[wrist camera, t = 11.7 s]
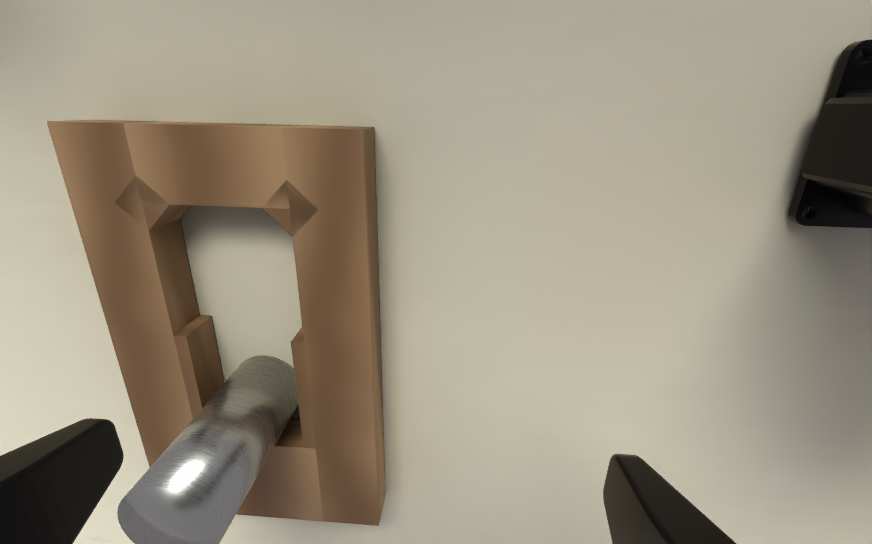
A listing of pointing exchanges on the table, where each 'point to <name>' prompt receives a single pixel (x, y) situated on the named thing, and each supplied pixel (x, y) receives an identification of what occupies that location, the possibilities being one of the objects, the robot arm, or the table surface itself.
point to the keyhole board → (194, 334)
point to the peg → (213, 459)
